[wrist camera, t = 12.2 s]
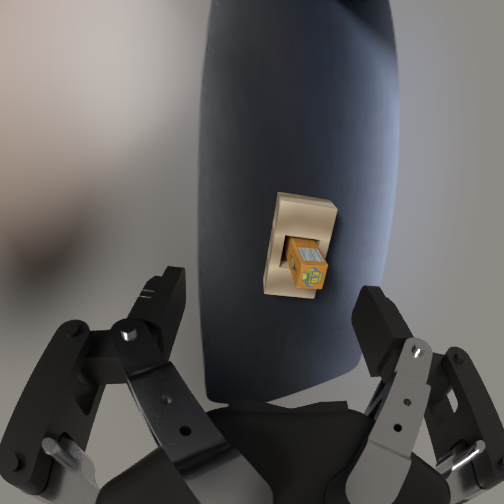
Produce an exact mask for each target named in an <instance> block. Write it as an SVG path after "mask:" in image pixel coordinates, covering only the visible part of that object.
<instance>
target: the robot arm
mask: <svg viewBox="0 0 504 504" xmlns="http://www.w3.org/2000/svg"><path fill="white" fill-rule="evenodd" d="M354 1H360V0H354ZM185 282H186V280H185V268H181V267H173V266H168V267H167V268H166V270H165V272H164V274H163V275H162V277H161V276H154V277H153V278H151V279H150V280H149V281H147V283H146V284H145V286H144V288H143V291H141V293H140V295H139V297H138V298H137V300H136V302H135V304H134V306H133V308H132V309H131V311H130V313H129V315H128V317H127V318H125V319H121V320H119V321H117V322H116V323H114V325H113V326H112V327H111V329H110V330H99V331H90V329H89V326H88V325H87V324H86V323H85V322H83V321H81V320H70V321H67V322H65V323H63V324H62V325H61V326H60V327H59V328H58V329H57V331H56V333H55V334H54V336H53V337H52V339H51V341H50V342H49V344H48V346H47V348H46V349H45V351H44V353H43V354H42V356H41V358H40V360H39V361H38V363H37V365H36V367H35V369H34V371H33V373H32V374H31V377H30V378H29V380H28V382H27V384H26V386H25V388H24V390H23V392H22V394H21V397H20V398H19V401H18V403H17V405H16V407H15V409H14V412H13V414H12V416H11V418H10V421H9V423H8V426H7V428H6V431H5V433H4V436H3V439H2V441H1V444H0V474H1V476H2V477H3V479H4V480H6V481H7V482H8V483H10V484H12V485H13V486H15V487H17V488H19V489H20V490H21V491H23V492H24V493H26V494H27V495H30V496H32V497H33V498H35V499H38V500H39V501H42V502H44V503H48V504H463V503H465V502H467V501H469V500H471V499H473V498H475V497H476V496H478V495H480V494H482V493H484V492H486V491H487V490H489V489H491V488H492V487H494V486H496V485H497V484H499V483H500V482H502V481H504V428H503V426H502V423H501V421H500V419H499V416H498V414H497V411H496V409H495V407H494V405H493V402H492V400H491V398H490V396H489V394H488V392H487V390H486V387H485V386H484V384H483V382H482V380H481V377H480V376H479V374H478V372H477V370H476V368H475V366H474V364H473V362H472V360H471V359H470V357H469V355H468V354H467V353H466V352H465V351H464V350H463V349H461V348H458V347H450V348H449V349H448V351H447V352H446V354H445V355H442V354H438V353H433V352H432V349H431V347H430V346H429V345H428V344H427V343H426V342H425V341H423V340H421V339H419V338H414V337H413V335H412V333H411V332H410V330H409V328H408V326H407V324H406V322H405V321H404V320H403V317H402V315H401V314H400V313H399V310H398V309H397V307H396V306H395V304H394V303H393V302H392V301H390V299H389V298H386V297H385V295H384V293H383V292H382V290H381V288H380V287H378V286H363V287H362V288H361V291H360V293H359V296H358V299H357V301H356V304H355V307H354V309H353V312H352V318H351V320H352V326H353V328H354V331H355V334H356V336H357V339H358V342H359V344H360V347H361V350H362V353H363V356H364V358H365V361H366V364H367V367H368V370H369V373H370V375H371V377H378V376H381V378H382V380H381V381H380V383H379V384H378V387H377V389H376V391H375V393H374V395H373V397H372V399H371V401H370V403H369V405H368V407H367V409H366V411H365V413H364V414H363V413H361V412H358V411H355V410H351V409H348V405H347V401H335V402H319V403H314V404H310V405H306V406H302V407H297V408H291V409H290V408H285V407H281V406H277V405H273V404H269V403H265V402H261V401H250V400H237V399H229V404H228V407H223V408H218V409H214V410H211V411H208V412H206V413H205V411H204V410H203V408H202V407H201V406H200V404H199V403H198V401H197V400H196V398H195V397H194V395H193V394H192V392H191V391H190V389H189V388H188V386H187V385H186V383H185V382H184V380H183V379H182V377H181V376H180V374H179V372H178V371H177V369H176V368H175V366H174V365H173V363H172V362H171V361H168V360H169V357H170V354H171V350H172V347H173V344H174V341H175V338H176V334H177V331H178V328H179V325H180V322H181V319H182V315H183V312H184V309H185V304H186V283H185ZM121 383H127V385H128V388H129V390H130V392H131V394H132V397H133V399H134V401H135V403H136V405H137V407H138V409H139V411H140V413H141V415H142V417H143V420H144V421H145V424H146V426H147V428H148V430H149V432H150V434H151V436H152V437H153V439H154V441H155V443H156V445H157V446H158V448H156V449H155V450H153V451H152V452H151V453H149V454H148V455H147V456H145V457H144V458H142V459H141V460H140V461H138V462H137V463H135V464H134V465H133V466H131V467H130V468H128V469H127V470H125V471H124V472H122V473H121V474H119V475H118V476H116V477H115V478H113V479H112V480H110V481H109V482H107V483H106V484H105V485H104V486H103V487H102V488H101V489H100V488H99V487H98V485H97V484H96V481H95V467H94V464H93V462H92V460H91V458H90V457H89V456H88V455H87V454H86V453H85V450H86V446H87V442H88V439H89V436H90V432H91V429H92V425H93V422H94V419H95V416H96V413H97V410H98V407H99V404H100V400H101V397H102V394H103V392H104V389H105V386H106V384H121ZM452 389H453V391H454V393H455V396H456V398H457V401H458V408H457V410H456V412H455V413H454V412H453V410H452V407H451V404H450V402H449V399H448V397H447V394H448V393H449V392H450V391H451V390H452ZM423 416H424V418H425V421H426V425H427V428H428V431H429V435H430V438H431V442H432V445H433V449H434V453H435V457H436V461H437V464H436V469H434V468H432V467H431V466H430V465H428V464H427V463H426V462H424V461H423V460H422V459H421V458H420V457H418V456H417V455H416V454H415V453H413V452H412V449H413V447H414V444H415V441H416V438H417V435H418V432H419V429H420V426H421V423H422V420H423Z"/></svg>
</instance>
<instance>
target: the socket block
mask: <svg viewBox="0 0 504 504" xmlns="http://www.w3.org/2000/svg"><path fill="white" fill-rule="evenodd" d="M337 210H338V209H337V208H336V207H335V206H334V205H333V204H332V202H331V201H330V200H325V199H320V198H314V197H307V196H301V195H295V194H288V193H281V192H278V195H277V202H276V208H275V214H274V220H273V226H272V232H271V238H270V243H269V249H268V255H267V261H266V267H265V272H264V278H263V279H264V294H272V295H281V296H292V297H302V298H313V299H314V297H315V293H316V290H317V289H296V288H295V285H294V281H293V278H292V275H291V271H290V268H289V265H288V261H287V258H286V255H284V254H282V249H283V244H284V239H285V235H287V236H295V237H303V238H310V239H314V241H315V243H316V245H317V246H318V248H319V250H320V252H321V253H322V255H323V257H324V259H325V258H326V254H327V250H328V246H329V242H330V239H331V235H332V231H333V227H334V222H335V218H336V214H337Z"/></svg>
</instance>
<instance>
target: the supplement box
mask: <svg viewBox="0 0 504 504" xmlns="http://www.w3.org/2000/svg"><path fill="white" fill-rule="evenodd" d="M285 254H286V258H287V261H288V265H289V268H290V271H291V275H292V278H293V281H294V285H295V288H296V289H322V287H323V283H324V280H325V276H326V272H327V268H328V264H327V262H326V261H325V259H324V257H323V255H322V253H321V252H320V250H319V248H318V246H317V245H316V243H315V241H314V239H310V238H303V237H295V236H287V238H286V244H285Z"/></svg>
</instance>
